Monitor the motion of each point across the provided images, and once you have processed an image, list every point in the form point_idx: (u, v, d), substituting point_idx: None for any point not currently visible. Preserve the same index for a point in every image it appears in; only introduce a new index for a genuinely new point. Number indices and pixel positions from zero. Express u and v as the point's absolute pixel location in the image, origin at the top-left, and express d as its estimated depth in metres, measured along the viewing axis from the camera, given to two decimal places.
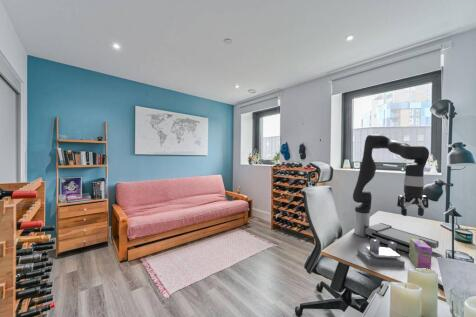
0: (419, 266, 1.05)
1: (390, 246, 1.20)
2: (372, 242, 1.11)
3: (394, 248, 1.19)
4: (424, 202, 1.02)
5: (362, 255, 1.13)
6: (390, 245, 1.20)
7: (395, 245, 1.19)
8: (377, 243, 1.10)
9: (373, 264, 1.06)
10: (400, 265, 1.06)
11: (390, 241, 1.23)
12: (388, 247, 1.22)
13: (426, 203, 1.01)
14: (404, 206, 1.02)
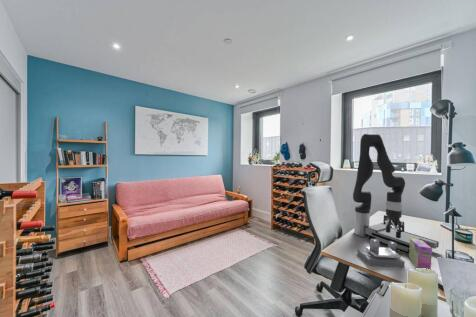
0: (419, 266, 1.05)
1: (390, 246, 1.20)
2: (372, 242, 1.11)
3: (394, 248, 1.19)
4: (387, 220, 1.26)
5: (362, 255, 1.13)
6: (390, 245, 1.20)
7: (395, 245, 1.19)
8: (377, 243, 1.10)
9: (373, 264, 1.06)
10: (400, 265, 1.06)
11: (390, 241, 1.23)
12: (388, 247, 1.22)
13: None
14: (401, 230, 1.15)
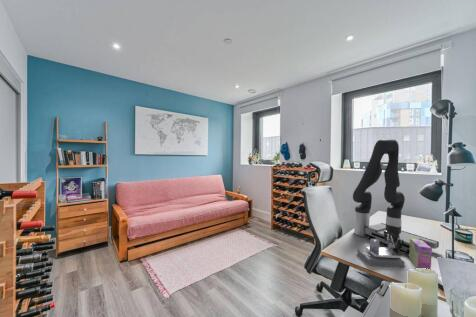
0: (419, 266, 1.05)
1: (390, 246, 1.20)
2: (372, 242, 1.11)
3: None
4: None
5: (362, 255, 1.13)
6: (390, 245, 1.20)
7: (395, 245, 1.19)
8: (377, 243, 1.10)
9: (373, 264, 1.06)
10: (400, 265, 1.06)
11: (390, 241, 1.23)
12: (388, 247, 1.22)
13: None
14: None
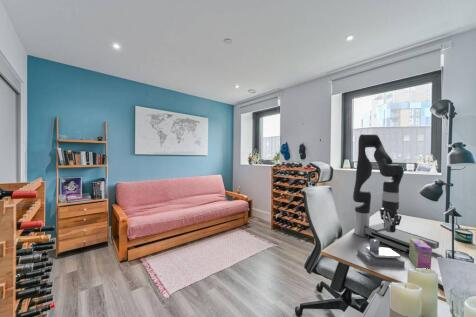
0: (419, 266, 1.05)
1: (387, 224, 1.10)
2: (372, 242, 1.11)
3: None
4: None
5: (362, 255, 1.13)
6: (387, 223, 1.10)
7: None
8: (377, 243, 1.10)
9: (373, 264, 1.06)
10: (400, 265, 1.06)
11: (387, 219, 1.13)
12: (385, 225, 1.11)
13: None
14: None
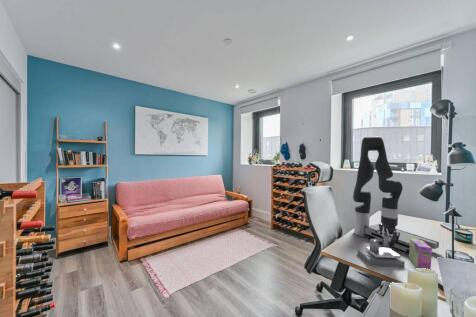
0: (419, 266, 1.05)
1: (386, 240, 1.10)
2: (372, 242, 1.11)
3: None
4: None
5: (362, 255, 1.13)
6: (386, 239, 1.11)
7: (391, 238, 1.09)
8: (377, 243, 1.10)
9: (373, 264, 1.06)
10: (400, 265, 1.06)
11: None
12: None
13: None
14: None
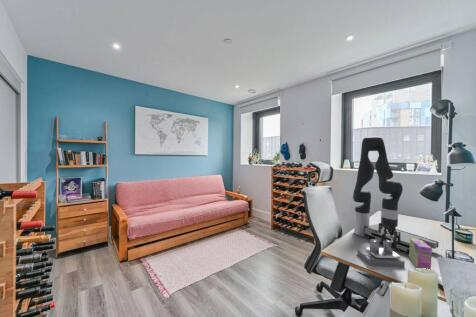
0: (419, 266, 1.05)
1: (386, 245, 1.10)
2: (372, 243, 1.11)
3: (390, 247, 1.10)
4: (382, 229, 1.17)
5: (362, 255, 1.13)
6: (385, 244, 1.11)
7: None
8: (377, 244, 1.10)
9: (373, 264, 1.06)
10: (400, 265, 1.06)
11: None
12: (383, 246, 1.12)
13: None
14: (396, 240, 1.06)
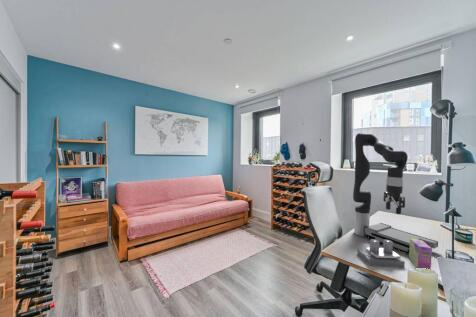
0: (419, 266, 1.05)
1: (386, 245, 1.10)
2: (372, 243, 1.11)
3: (390, 247, 1.10)
4: None
5: (362, 255, 1.13)
6: (385, 244, 1.11)
7: (391, 244, 1.09)
8: (377, 244, 1.10)
9: (373, 264, 1.06)
10: (400, 265, 1.06)
11: None
12: (383, 246, 1.12)
13: None
14: None
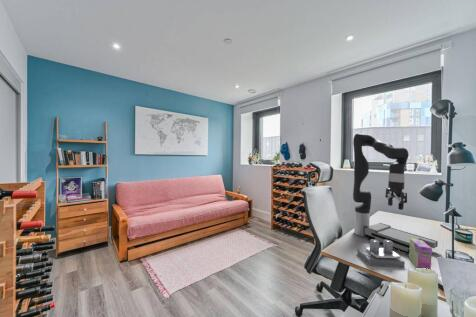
0: (419, 266, 1.05)
1: (386, 245, 1.10)
2: (372, 243, 1.11)
3: (390, 247, 1.10)
4: (389, 193, 1.25)
5: (362, 255, 1.13)
6: (385, 244, 1.11)
7: (391, 244, 1.09)
8: (377, 244, 1.10)
9: (373, 264, 1.06)
10: (400, 265, 1.06)
11: None
12: (383, 246, 1.12)
13: None
14: (403, 201, 1.14)
